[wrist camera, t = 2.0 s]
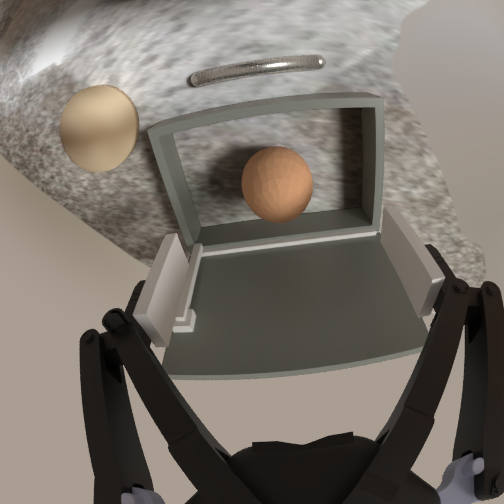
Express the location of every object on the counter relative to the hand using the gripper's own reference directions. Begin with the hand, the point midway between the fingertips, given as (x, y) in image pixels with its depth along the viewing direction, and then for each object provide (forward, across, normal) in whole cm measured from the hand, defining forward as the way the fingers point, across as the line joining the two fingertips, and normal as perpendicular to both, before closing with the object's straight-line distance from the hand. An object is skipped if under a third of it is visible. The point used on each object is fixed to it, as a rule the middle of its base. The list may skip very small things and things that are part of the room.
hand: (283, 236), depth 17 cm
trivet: (+11, -16, +8) cm, 21 cm away
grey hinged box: (+11, 0, 0) cm, 11 cm away
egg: (+11, 0, 0) cm, 11 cm away
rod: (+11, 0, +10) cm, 15 cm away
